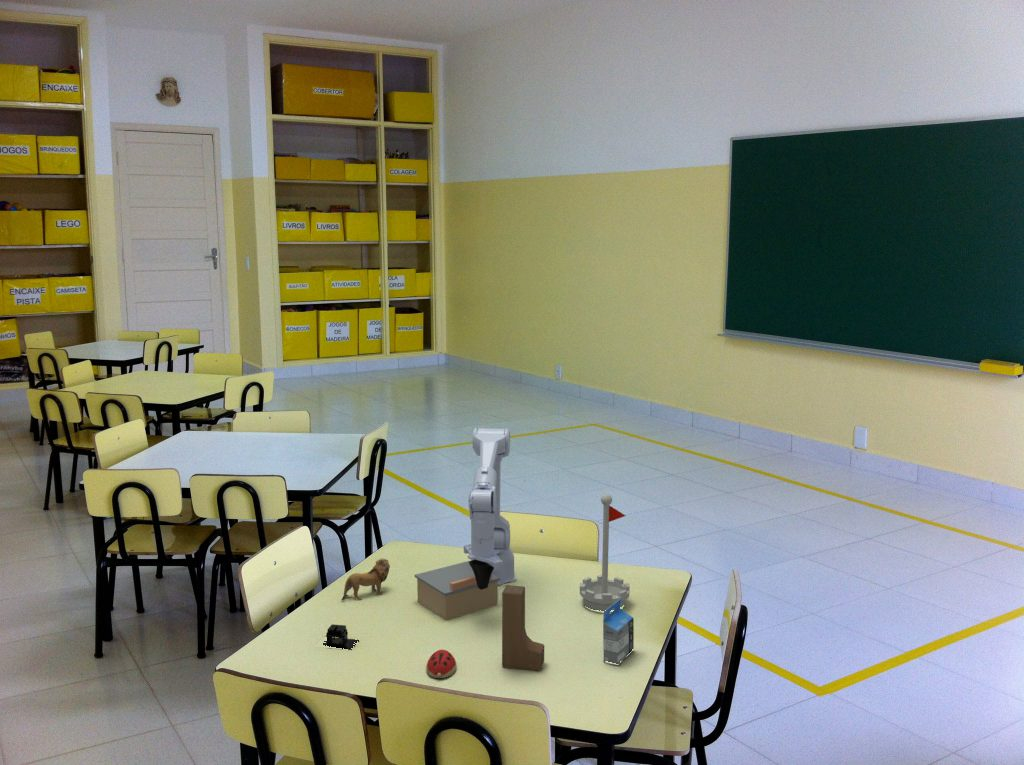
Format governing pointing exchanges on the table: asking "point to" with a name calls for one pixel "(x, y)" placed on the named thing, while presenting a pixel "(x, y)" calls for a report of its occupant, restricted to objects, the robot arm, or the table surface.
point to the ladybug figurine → (441, 664)
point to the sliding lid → (452, 578)
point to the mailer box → (457, 600)
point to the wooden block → (518, 633)
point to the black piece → (339, 637)
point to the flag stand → (605, 571)
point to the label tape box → (617, 634)
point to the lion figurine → (368, 579)
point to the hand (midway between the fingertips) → (482, 588)
